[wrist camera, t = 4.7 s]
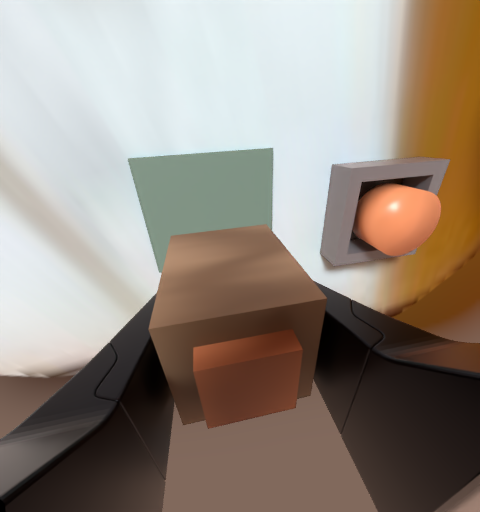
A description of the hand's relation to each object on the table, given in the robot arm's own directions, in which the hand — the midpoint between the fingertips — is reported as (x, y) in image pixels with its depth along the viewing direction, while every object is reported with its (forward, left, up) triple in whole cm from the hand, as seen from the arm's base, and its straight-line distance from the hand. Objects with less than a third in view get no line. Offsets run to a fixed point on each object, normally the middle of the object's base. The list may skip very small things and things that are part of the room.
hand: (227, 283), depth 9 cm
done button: (-14, +1, -8) cm, 16 cm away
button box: (-14, +1, -10) cm, 17 cm away
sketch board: (0, 0, -10) cm, 10 cm away
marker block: (0, 0, -1) cm, 1 cm away
